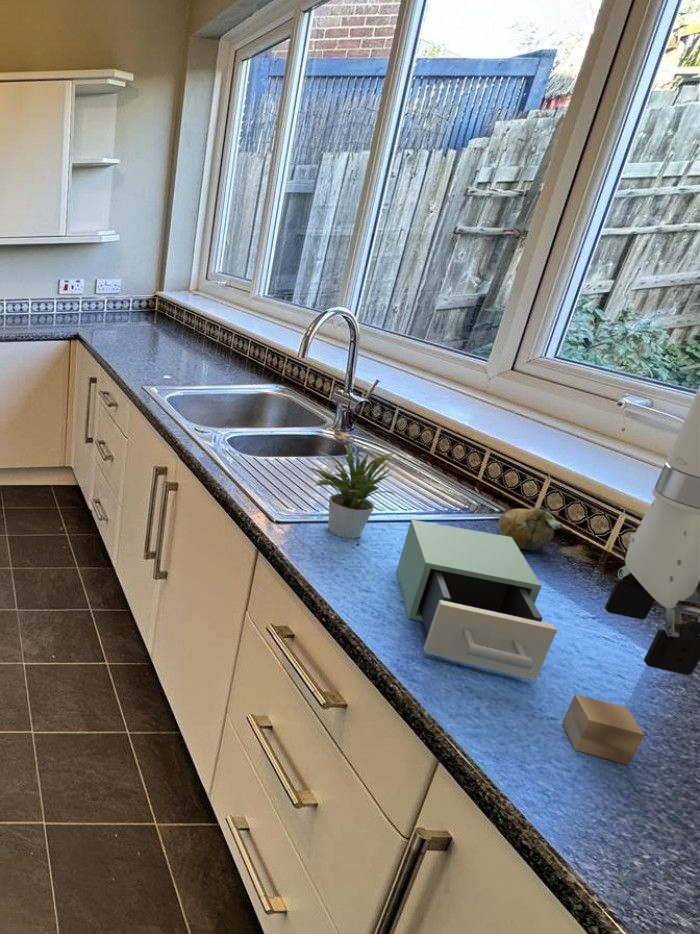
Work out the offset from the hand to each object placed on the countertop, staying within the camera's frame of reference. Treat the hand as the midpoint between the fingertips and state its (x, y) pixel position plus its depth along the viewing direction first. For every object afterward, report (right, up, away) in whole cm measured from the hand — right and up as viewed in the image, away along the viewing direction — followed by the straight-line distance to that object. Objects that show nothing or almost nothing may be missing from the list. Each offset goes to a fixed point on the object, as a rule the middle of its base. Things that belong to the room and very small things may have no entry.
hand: (643, 640), depth 64 cm
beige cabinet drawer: (-2, -7, +19) cm, 20 cm away
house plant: (+2, +5, +52) cm, 52 cm away
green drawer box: (+4, -4, +30) cm, 30 cm away
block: (0, -13, +5) cm, 14 cm away
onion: (+29, +3, +46) cm, 54 cm away
